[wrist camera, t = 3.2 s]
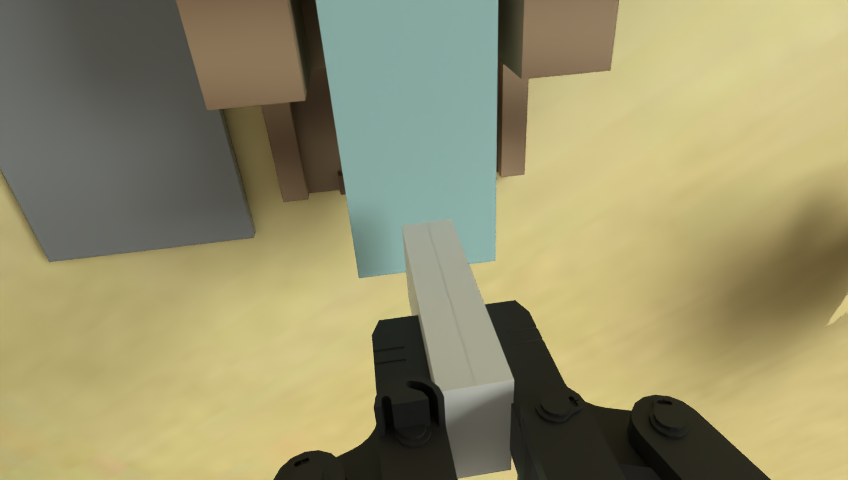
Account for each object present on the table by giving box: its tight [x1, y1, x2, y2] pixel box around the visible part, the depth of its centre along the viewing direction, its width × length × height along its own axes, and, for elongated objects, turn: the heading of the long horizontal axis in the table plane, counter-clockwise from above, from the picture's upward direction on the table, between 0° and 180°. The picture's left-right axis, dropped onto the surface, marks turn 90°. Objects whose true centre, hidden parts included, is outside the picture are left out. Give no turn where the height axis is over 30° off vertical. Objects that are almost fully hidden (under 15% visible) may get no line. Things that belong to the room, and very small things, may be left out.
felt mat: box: [0, 0, 255, 262], centre depth 22 cm, size 16×10×1 cm, turn 4°
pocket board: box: [176, 0, 619, 202], centre depth 18 cm, size 18×12×9 cm
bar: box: [316, 0, 498, 278], centre depth 17 cm, size 14×5×4 cm, turn 4°
